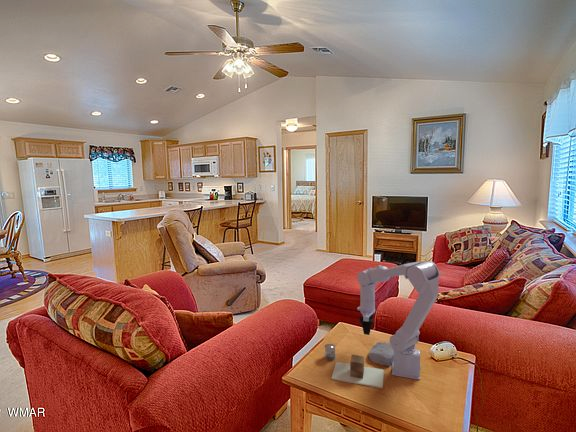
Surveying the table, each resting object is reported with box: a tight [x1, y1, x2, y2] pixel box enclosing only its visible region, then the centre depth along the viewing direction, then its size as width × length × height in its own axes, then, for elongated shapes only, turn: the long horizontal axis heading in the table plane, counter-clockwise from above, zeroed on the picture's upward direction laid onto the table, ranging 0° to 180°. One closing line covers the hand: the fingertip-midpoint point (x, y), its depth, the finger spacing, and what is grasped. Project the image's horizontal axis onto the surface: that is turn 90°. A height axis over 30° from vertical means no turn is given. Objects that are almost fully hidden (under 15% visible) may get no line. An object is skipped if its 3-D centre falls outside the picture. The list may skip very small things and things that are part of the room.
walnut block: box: [349, 354, 365, 379], centre depth 118 cm, size 4×4×6 cm
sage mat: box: [330, 361, 385, 389], centre depth 119 cm, size 18×10×1 cm, turn 71°
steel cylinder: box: [324, 343, 336, 362], centre depth 130 cm, size 4×4×5 cm
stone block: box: [368, 341, 394, 367], centre depth 129 cm, size 12×5×10 cm
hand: (367, 329), depth 132 cm, fingers open, 7 cm apart
